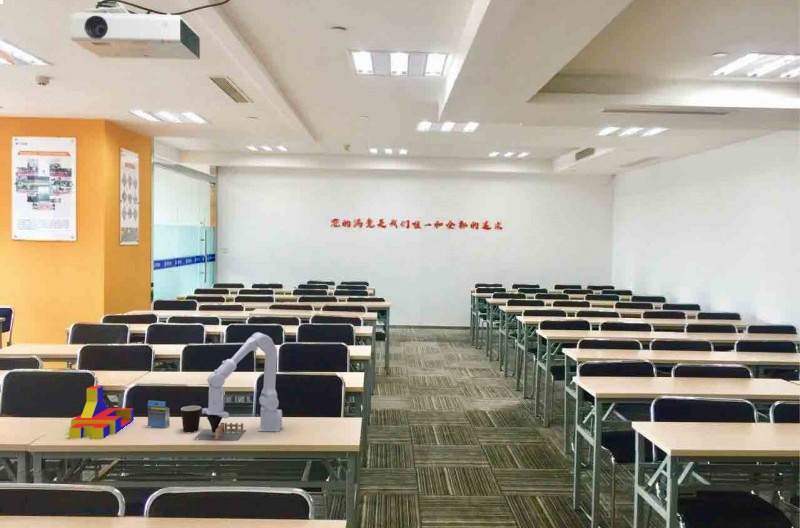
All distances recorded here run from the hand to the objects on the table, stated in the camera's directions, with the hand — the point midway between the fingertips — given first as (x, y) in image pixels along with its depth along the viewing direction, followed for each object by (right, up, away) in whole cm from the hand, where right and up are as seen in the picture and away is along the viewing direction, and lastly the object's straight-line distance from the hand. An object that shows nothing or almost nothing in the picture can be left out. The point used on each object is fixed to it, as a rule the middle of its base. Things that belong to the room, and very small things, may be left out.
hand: (214, 432), depth 249 cm
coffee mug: (-14, -2, +11) cm, 17 cm away
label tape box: (-30, -2, +14) cm, 33 cm away
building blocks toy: (-54, -2, +8) cm, 54 cm away
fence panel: (+2, -2, 0) cm, 2 cm away
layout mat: (+1, -2, +3) cm, 4 cm away
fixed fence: (+6, -2, +6) cm, 8 cm away
